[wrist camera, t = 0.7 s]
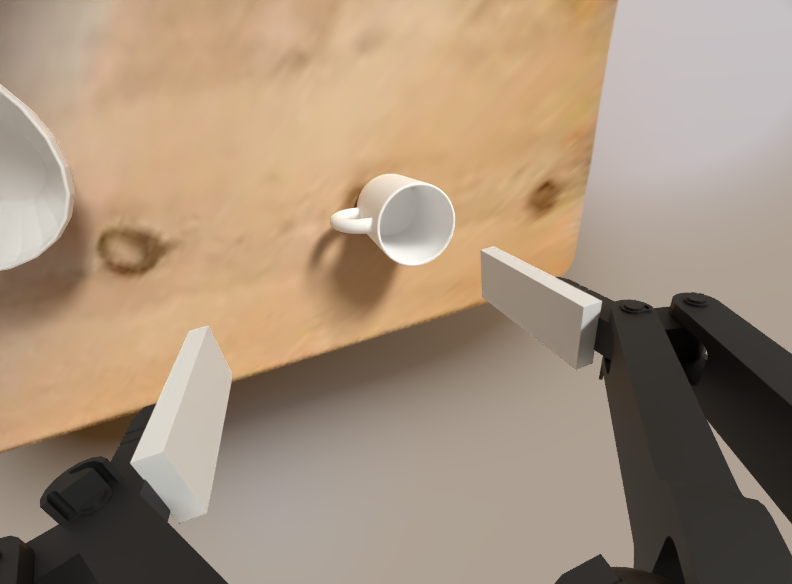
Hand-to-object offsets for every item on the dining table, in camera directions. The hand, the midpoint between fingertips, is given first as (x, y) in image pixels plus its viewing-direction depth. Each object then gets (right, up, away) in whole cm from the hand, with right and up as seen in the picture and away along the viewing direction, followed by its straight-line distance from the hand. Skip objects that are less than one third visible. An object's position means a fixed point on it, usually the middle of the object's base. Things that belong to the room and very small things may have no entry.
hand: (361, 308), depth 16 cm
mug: (-1, +11, +25) cm, 28 cm away
